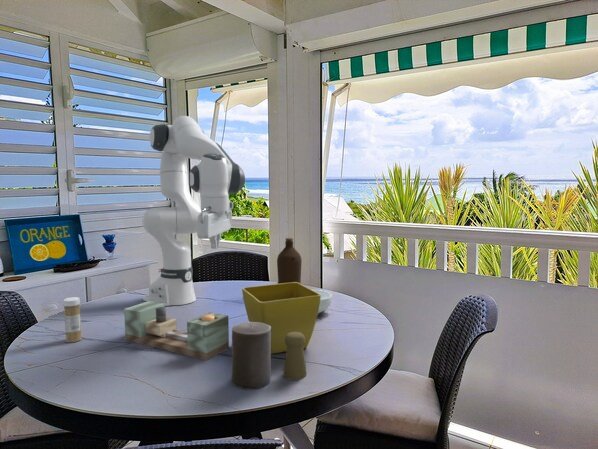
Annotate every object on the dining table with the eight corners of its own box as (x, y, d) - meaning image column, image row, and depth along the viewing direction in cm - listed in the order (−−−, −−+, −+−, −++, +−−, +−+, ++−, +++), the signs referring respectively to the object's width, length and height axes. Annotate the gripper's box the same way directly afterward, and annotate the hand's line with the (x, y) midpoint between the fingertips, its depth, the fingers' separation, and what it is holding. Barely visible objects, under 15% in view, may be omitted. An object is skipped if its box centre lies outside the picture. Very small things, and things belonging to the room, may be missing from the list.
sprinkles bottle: (82, 336, 141) (79, 295, 140) (81, 341, 137) (79, 299, 136) (65, 339, 139) (63, 297, 138) (65, 343, 135) (62, 301, 134)
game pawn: (282, 369, 117) (282, 329, 115) (305, 368, 117) (305, 328, 116) (284, 380, 111) (283, 337, 109) (307, 379, 111) (307, 337, 110)
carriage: (146, 335, 136) (145, 310, 135) (162, 328, 142) (162, 304, 141) (160, 338, 133) (159, 312, 132) (176, 331, 139) (176, 306, 138)
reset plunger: (199, 330, 127) (199, 317, 127) (207, 326, 130) (207, 313, 130) (209, 332, 126) (208, 318, 125) (217, 328, 129) (216, 315, 128)
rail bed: (125, 339, 138) (124, 308, 137) (150, 330, 147) (148, 301, 146) (206, 360, 123) (206, 325, 122) (228, 348, 131) (228, 315, 130)
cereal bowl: (337, 309, 171) (338, 291, 170) (321, 321, 156) (321, 302, 155) (298, 304, 178) (298, 286, 177) (279, 315, 163) (279, 297, 162)
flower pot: (241, 338, 139) (241, 286, 138) (296, 330, 147) (296, 281, 145) (260, 361, 122) (260, 302, 120) (322, 350, 129) (322, 295, 128)
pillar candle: (238, 392, 104) (238, 331, 103) (227, 375, 113) (227, 318, 112) (276, 385, 108) (276, 326, 107) (263, 369, 117) (263, 314, 115)
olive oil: (306, 294, 192) (306, 237, 189) (291, 299, 184) (290, 240, 181) (287, 290, 199) (287, 235, 196) (272, 295, 190) (271, 238, 188)
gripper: (211, 209, 129) (211, 255, 131) (235, 202, 149) (235, 242, 151) (191, 208, 130) (192, 253, 132) (217, 202, 150) (218, 241, 152)
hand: (215, 247), depth 142 cm, fingers closed
